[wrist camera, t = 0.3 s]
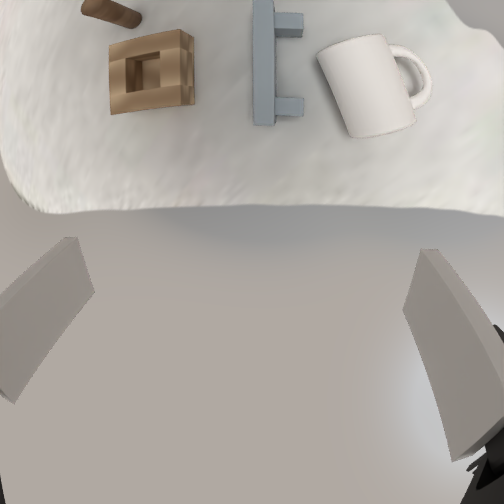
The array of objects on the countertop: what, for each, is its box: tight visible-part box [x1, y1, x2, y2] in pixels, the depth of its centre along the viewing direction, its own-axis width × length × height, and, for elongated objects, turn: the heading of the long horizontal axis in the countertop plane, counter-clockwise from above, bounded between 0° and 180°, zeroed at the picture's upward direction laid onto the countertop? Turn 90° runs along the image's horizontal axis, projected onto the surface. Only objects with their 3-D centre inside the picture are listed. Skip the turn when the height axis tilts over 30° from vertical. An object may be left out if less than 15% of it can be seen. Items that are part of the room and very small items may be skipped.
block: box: [109, 29, 194, 115], centre depth 28 cm, size 9×9×5 cm
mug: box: [316, 34, 432, 138], centre depth 25 cm, size 12×10×8 cm
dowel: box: [81, 0, 142, 29], centre depth 22 cm, size 3×3×10 cm
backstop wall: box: [253, 0, 304, 126], centre depth 26 cm, size 14×5×6 cm, turn 0°
